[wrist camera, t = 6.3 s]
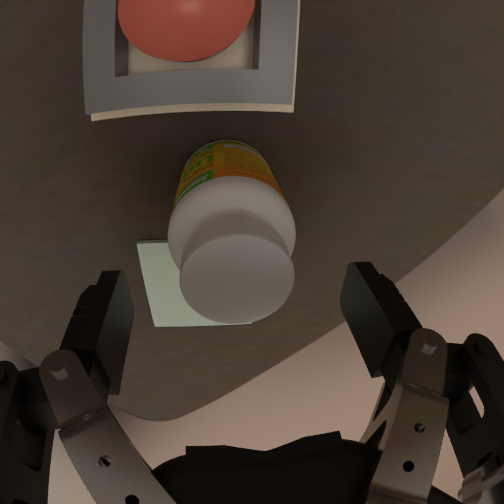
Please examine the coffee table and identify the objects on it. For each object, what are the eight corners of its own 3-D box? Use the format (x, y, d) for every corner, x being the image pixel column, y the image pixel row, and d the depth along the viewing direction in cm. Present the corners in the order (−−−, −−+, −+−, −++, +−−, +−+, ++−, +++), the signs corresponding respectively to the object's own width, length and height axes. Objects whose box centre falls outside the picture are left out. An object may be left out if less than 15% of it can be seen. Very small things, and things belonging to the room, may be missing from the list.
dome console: (102, -49, 9) (80, -67, 6) (296, -57, 10) (314, -79, 7) (98, 117, 15) (74, 130, 12) (288, 109, 16) (305, 120, 13)
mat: (137, 240, 20) (136, 243, 20) (255, 236, 21) (256, 239, 21) (155, 323, 24) (154, 326, 24) (251, 320, 25) (252, 323, 25)
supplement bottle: (204, 123, 16) (195, 186, 8) (286, 162, 18) (345, 252, 10) (168, 200, 19) (140, 313, 11) (244, 231, 21) (266, 349, 13)
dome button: (137, -28, 10) (122, -45, 7) (249, -34, 10) (257, -53, 8) (134, 67, 13) (116, 68, 10) (245, 61, 13) (252, 60, 11)
